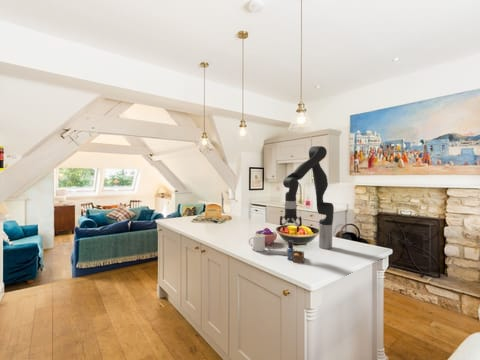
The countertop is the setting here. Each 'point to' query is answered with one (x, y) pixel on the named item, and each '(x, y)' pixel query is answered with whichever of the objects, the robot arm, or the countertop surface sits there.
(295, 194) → the robot arm
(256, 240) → the mug
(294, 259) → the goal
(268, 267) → the countertop surface
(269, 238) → the cell model
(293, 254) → the rail
